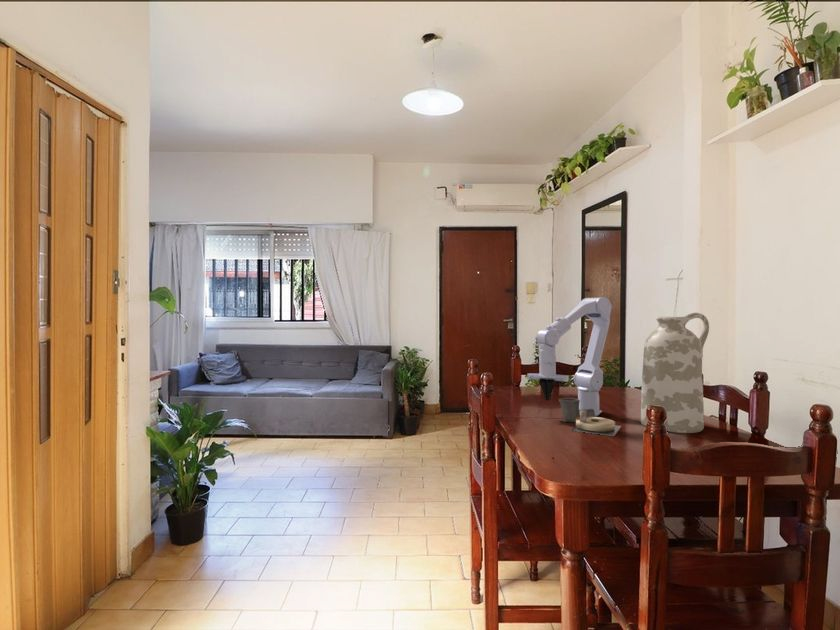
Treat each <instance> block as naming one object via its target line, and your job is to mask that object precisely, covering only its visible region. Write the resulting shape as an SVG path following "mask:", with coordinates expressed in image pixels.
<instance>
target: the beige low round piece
mask: <svg viewBox="0 0 840 630" xmlns="http://www.w3.org/2000/svg"><path fill="white" fill-rule="evenodd" d="M615 425H616V421H614V420H613V419H609V418H606V417H600V416H599V417H598V416H595V417H586V411H584V410H581V411H580V417H576V422H575V426H576V427H578V428H580V429H584V430H588V431H598V432H605V431H612V430H614V429H615Z"/></svg>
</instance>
